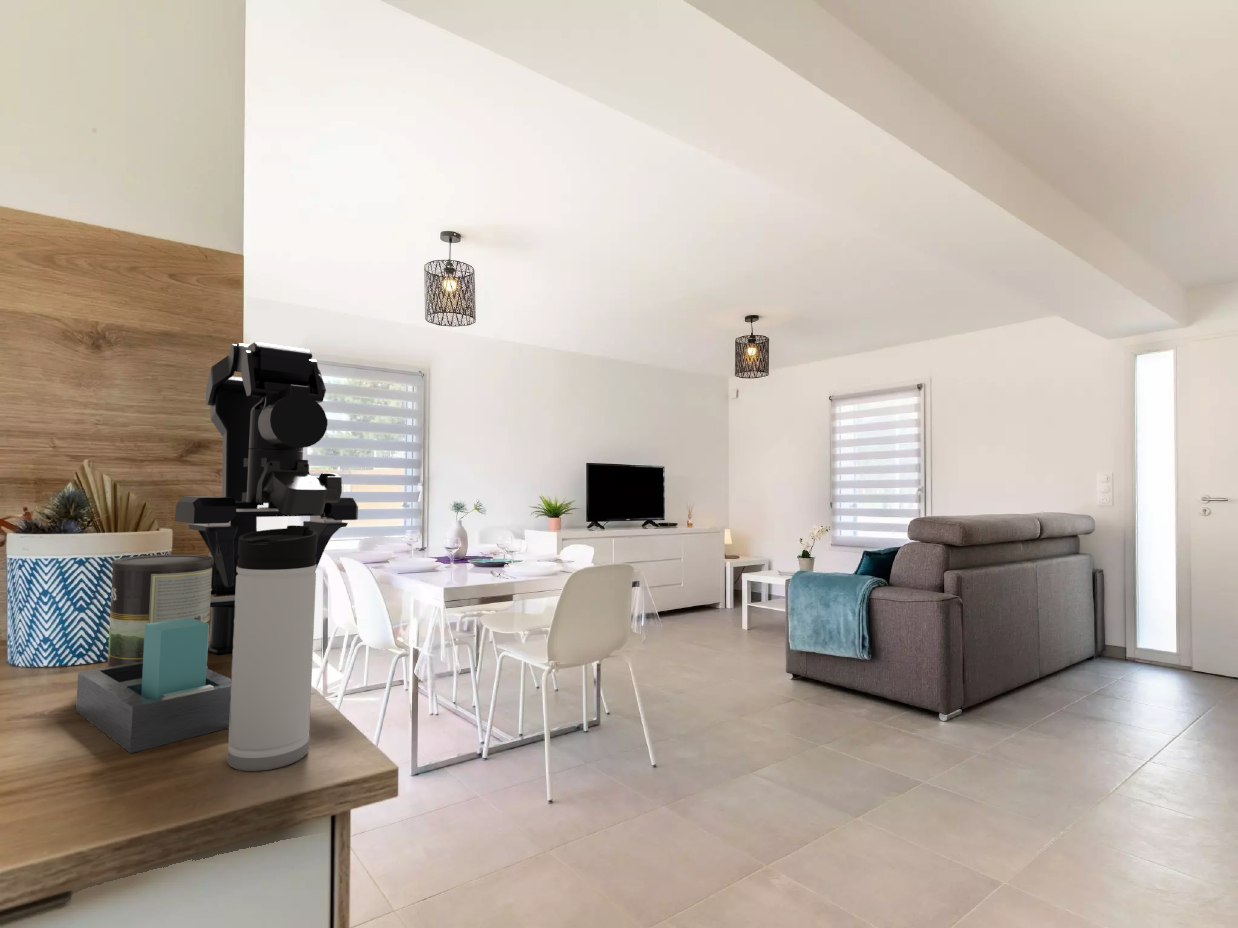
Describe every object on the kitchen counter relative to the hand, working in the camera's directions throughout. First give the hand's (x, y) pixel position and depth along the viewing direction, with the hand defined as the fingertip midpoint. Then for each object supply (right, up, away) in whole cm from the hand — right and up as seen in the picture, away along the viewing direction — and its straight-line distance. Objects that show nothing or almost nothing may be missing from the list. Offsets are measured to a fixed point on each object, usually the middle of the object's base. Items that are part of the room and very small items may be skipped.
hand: (270, 582), depth 77 cm
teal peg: (-2, -12, -14) cm, 18 cm away
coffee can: (-15, -12, +3) cm, 19 cm away
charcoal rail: (-5, -12, -12) cm, 17 cm away
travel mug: (+11, -12, -20) cm, 25 cm away
